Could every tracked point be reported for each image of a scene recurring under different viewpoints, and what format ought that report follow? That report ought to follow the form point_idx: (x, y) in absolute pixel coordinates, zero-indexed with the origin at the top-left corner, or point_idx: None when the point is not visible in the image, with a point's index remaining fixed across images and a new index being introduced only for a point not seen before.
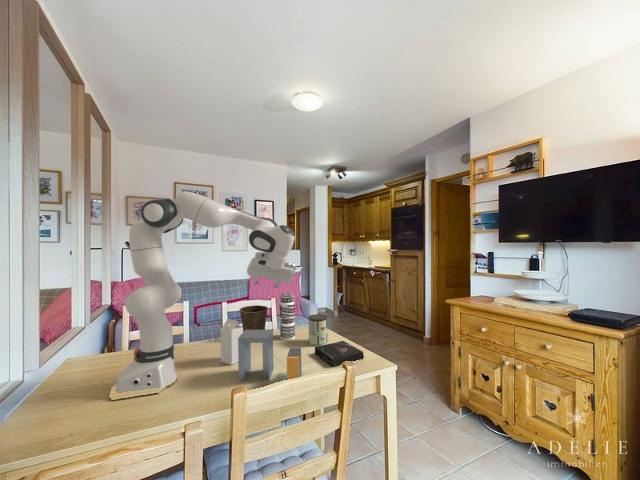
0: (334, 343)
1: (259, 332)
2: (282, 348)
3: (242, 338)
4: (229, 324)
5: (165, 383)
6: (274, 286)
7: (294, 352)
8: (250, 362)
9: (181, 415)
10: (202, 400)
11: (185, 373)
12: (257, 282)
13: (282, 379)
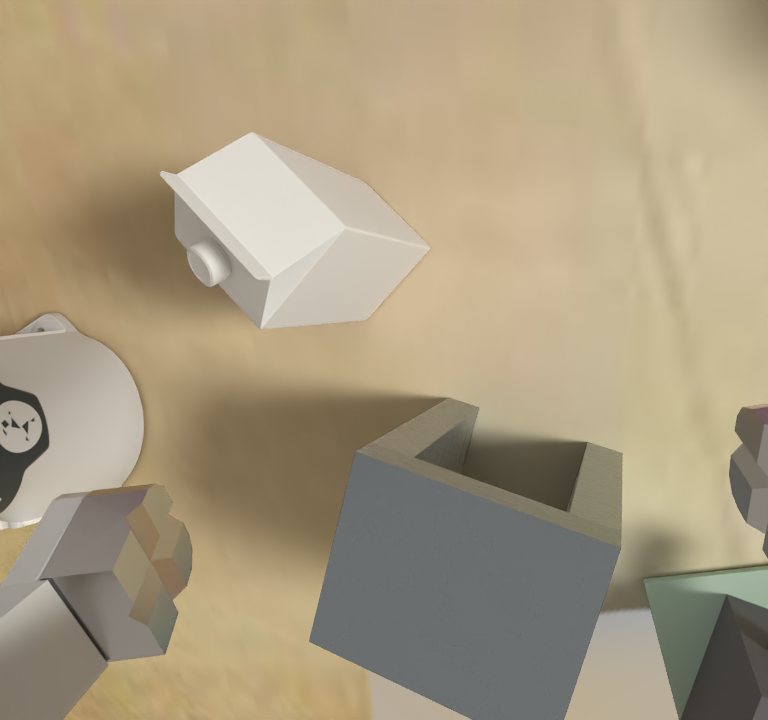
0: None
1: (480, 578)
2: (746, 85)
3: (343, 653)
4: (211, 275)
5: (106, 488)
6: (747, 505)
7: None
8: (466, 425)
9: (226, 715)
10: (277, 643)
11: (161, 351)
12: (168, 616)
13: (662, 632)
